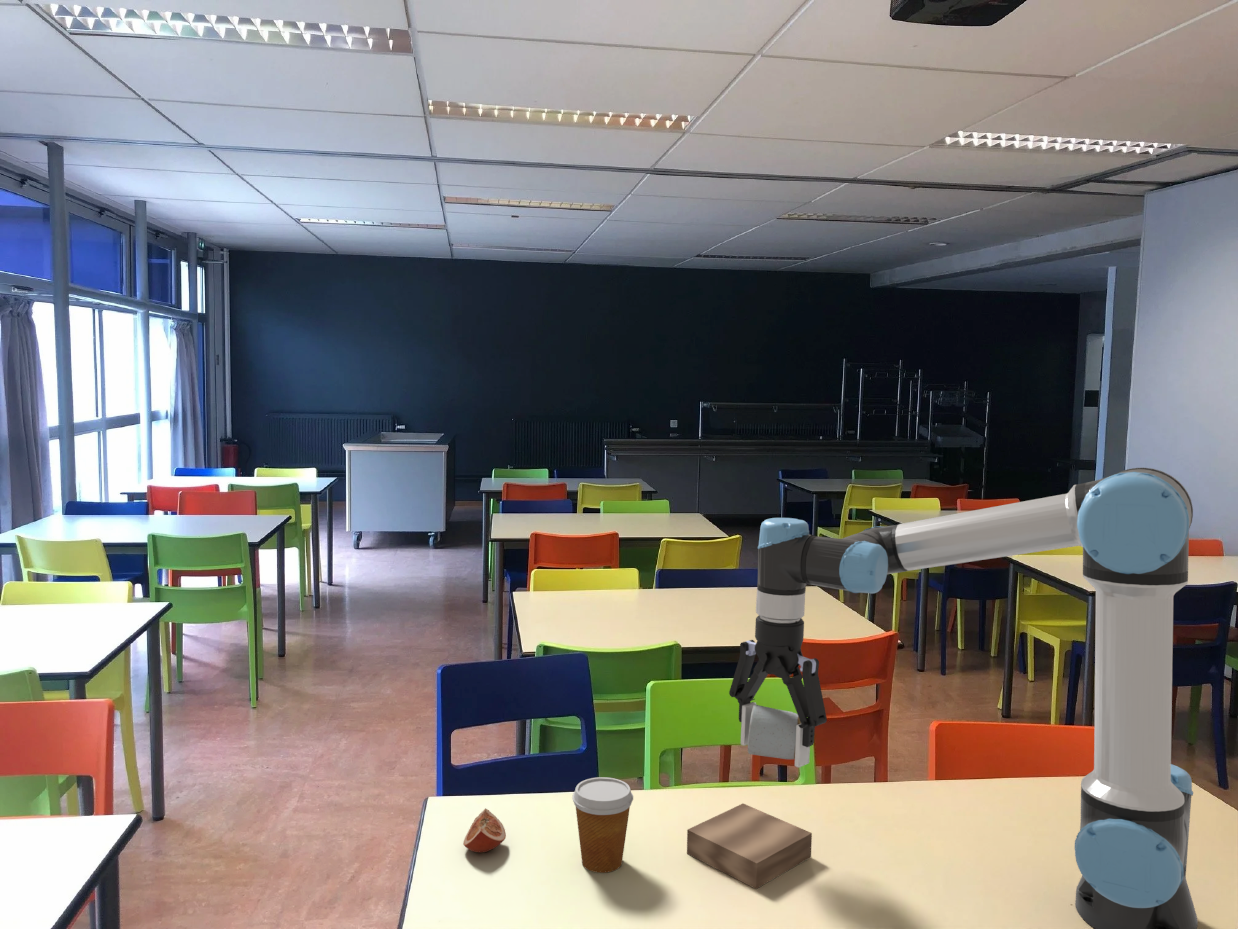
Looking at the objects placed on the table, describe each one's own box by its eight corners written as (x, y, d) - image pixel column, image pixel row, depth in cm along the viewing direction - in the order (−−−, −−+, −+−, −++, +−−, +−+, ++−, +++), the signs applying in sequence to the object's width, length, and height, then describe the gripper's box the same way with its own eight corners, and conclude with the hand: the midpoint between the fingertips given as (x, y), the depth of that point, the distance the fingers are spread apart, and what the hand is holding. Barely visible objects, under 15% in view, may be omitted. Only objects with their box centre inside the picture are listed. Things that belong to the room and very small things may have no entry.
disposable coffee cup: (579, 882, 139) (580, 805, 138) (565, 851, 148) (566, 779, 147) (639, 874, 142) (641, 799, 141) (623, 844, 151) (624, 773, 150)
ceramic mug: (799, 768, 142) (802, 719, 142) (746, 761, 144) (748, 713, 144) (803, 743, 153) (805, 698, 152) (753, 737, 155) (755, 692, 154)
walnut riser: (811, 857, 147) (811, 833, 147) (756, 889, 138) (756, 863, 138) (742, 826, 158) (743, 803, 157) (686, 853, 148) (687, 829, 148)
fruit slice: (467, 835, 153) (467, 806, 153) (508, 835, 153) (508, 806, 153) (460, 861, 145) (460, 831, 144) (503, 861, 145) (503, 831, 145)
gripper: (855, 628, 139) (848, 770, 141) (740, 599, 156) (735, 726, 158) (826, 637, 134) (819, 784, 136) (710, 606, 151) (705, 737, 153)
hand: (774, 753), depth 147 cm, fingers closed on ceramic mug, 10 cm apart
